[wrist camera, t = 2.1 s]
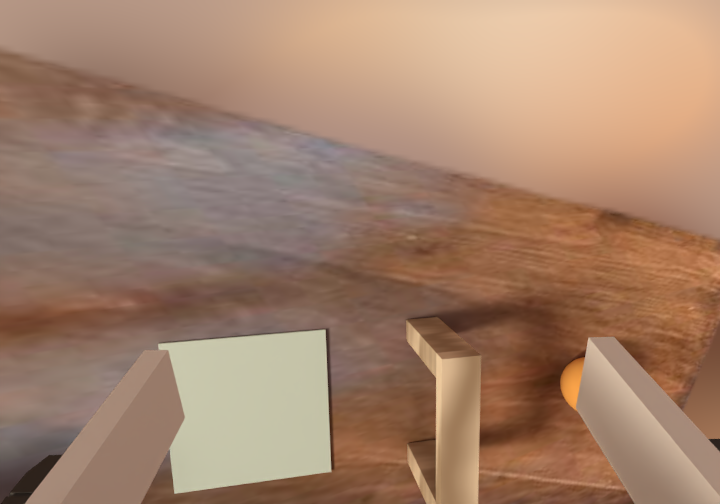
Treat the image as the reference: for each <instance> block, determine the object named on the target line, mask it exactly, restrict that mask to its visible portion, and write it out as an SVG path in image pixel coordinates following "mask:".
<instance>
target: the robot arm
mask: <svg viewBox="0 0 720 504" xmlns="http://www.w3.org/2000/svg"><path fill="white" fill-rule="evenodd" d="M576 409H577V411H578V412H579V414H580V416H581V417H582V419H583V421H584V422H585V424H586V425H587V427H588V429H589V430H590V432H591V434H592V435H593V437H594V438H595V440H596V442H597V443H598V445H599V447H600V448H601V450H602V451H603V453H604V455H605V456H606V458H607V460H608V461H609V463H610V464H611V466H612V468H613V469H614V471H615V472H616V474H617V476H618V477H619V479H620V481H621V482H622V484H623V485H624V487H625V489H626V490H627V492H628V494H629V495H630V497H631V498H632V500H633V502H634V503H635V504H720V439H708V438H706V436H705V435H704V434H703V433H702V432H701V431H700V430H699V429H698V428H697V427H696V426H695V424H694V423H693V422H692V421H691V420H690V419H689V418H688V417H687V416H686V415H685V414H684V412H683V411H682V410H681V409H680V408H679V407H678V406H677V405H676V404H675V403H674V402H673V400H672V399H671V398H670V397H669V396H668V395H667V394H666V393H665V392H664V391H663V390H662V389H661V387H660V386H659V385H658V384H657V383H656V382H655V381H654V380H653V379H652V378H651V377H650V376H649V374H648V373H647V372H646V371H645V370H644V369H643V368H642V367H641V366H640V365H639V364H638V362H637V361H636V360H635V359H634V358H633V357H632V356H631V355H630V354H629V353H628V352H627V351H626V349H625V348H624V347H623V346H622V345H621V344H620V343H619V342H618V341H617V340H616V339H615V338H614V337H592V338H589V339H588V344H587V349H586V355H585V360H584V366H583V371H582V377H581V382H580V387H579V393H578V398H577V404H576ZM184 419H185V415H184V411H183V407H182V403H181V399H180V395H179V391H178V387H177V383H176V379H175V375H174V371H173V367H172V363H171V359H170V355H169V351H168V350H146V351H144V352H143V353H142V354H141V355H140V357H139V358H138V359H137V361H136V362H135V363H134V364H133V366H132V367H131V368H130V369H129V371H128V372H127V373H126V375H125V376H124V377H123V378H122V380H121V381H120V382H119V384H118V385H117V386H116V387H115V389H114V390H113V391H112V393H111V394H110V395H109V396H108V398H107V399H106V400H105V401H104V403H103V404H102V405H101V407H100V408H99V409H98V410H97V412H96V413H95V414H94V416H93V417H92V418H91V419H90V421H89V422H88V423H87V425H86V426H85V427H84V428H83V430H82V431H81V432H80V434H79V435H78V436H77V437H76V439H75V440H74V441H73V442H72V444H71V445H70V446H69V448H68V449H67V450H66V451H65V453H64V454H63V455H49V456H48V457H46V458H45V459H44V460H42V461H41V462H40V463H39V464H37V465H36V466H35V467H33V468H32V469H31V470H30V471H28V472H27V473H26V474H25V475H24V477H23V478H22V479H21V480H20V481H19V483H18V484H17V485H16V486H15V487H14V489H13V490H12V491H11V492H10V496H9V497H6V498H5V499H4V500H3V502H2V503H1V504H141V502H142V501H143V499H144V497H145V495H146V493H147V491H148V489H149V487H150V485H151V483H152V481H153V479H154V477H155V475H156V473H157V471H158V469H159V467H160V466H161V464H162V462H163V460H164V458H165V456H166V454H167V452H168V450H169V448H170V446H171V444H172V442H173V440H174V438H175V436H176V434H177V432H178V431H179V429H180V427H181V425H182V423H183V421H184Z"/></svg>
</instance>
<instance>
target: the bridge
mask: <svg viewBox="0 0 720 504" xmlns="http://www.w3.org/2000/svg"><path fill="white" fill-rule="evenodd" d="M406 330H407V341H408V343H409V344H410V345H411V347H412V348H413V349H414V350H415V352H416V353H417V354H418V355H419V357H420V358H421V359H422V361H423V362H424V363H425V364H426V366H427V367H428V368H429V369H430V371H431V372H432V373H433V375H434V376H435V377H436V440H428V441H421V442H413V443H407V456H408V464H409V466H410V469H411V471H412V473H413V475H414V477H415V480H416V482H417V484H418V486H419V488H420V491H421V493H422V495H423V497H424V500H425V502H426V504H478V476H479V431H480V387H481V355H480V354H479V353H478V352H477V351H476V350H474V349H473V348H472V347H471V346H470V345H469V344H468V343H466V342H465V341H464V340H463V339H462V338H461V337H460V336H459V335H457V334H456V333H455V332H454V331H453V330H452V329H451V328H449V327H448V326H447V325H446V324H445V323H444V322H443V321H442V320H440V319H439V318H438V317H431V318H419V319H407V320H406Z"/></svg>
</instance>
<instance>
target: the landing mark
mask: <svg viewBox="0 0 720 504" xmlns="http://www.w3.org/2000/svg"><path fill="white" fill-rule="evenodd" d="M158 346H159V350H168V351H169V355H170V359H171V363H172V367H173V371H174V375H175V379H176V383H177V387H178V391H179V395H180V399H181V403H182V407H183V411H184V415H185V419H184V421H183V423H182V425H181V427H180V429H179V431H178V432H177V434H176V436H175V438H174V440H173V442H172V444H171V446H170V456H171V466H172V475H173V484H174V493H175V494H176V493H183V492H190V491H197V490H204V489H211V488H218V487H226V486H233V485H240V484H247V483H254V482H261V481H268V480H275V479H283V478H290V477H297V476H304V475H311V474H318V473H325V472H331V452H330V427H329V403H328V378H327V353H326V330H325V329H320V330H308V331H296V332H285V333H273V334H261V335H249V336H237V337H226V338H214V339H202V340H190V341H178V342H167V343H159V344H158Z"/></svg>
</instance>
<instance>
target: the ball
mask: <svg viewBox="0 0 720 504" xmlns="http://www.w3.org/2000/svg"><path fill="white" fill-rule="evenodd" d="M584 360H585V357H582V358H578V359H576V360H574V361H572V362H571V363H569V364H568V365H567V366H566V367H565V369H564V371H563V372H562V375H561V380H560V386H561V391H562V394H563V396H564V398H565V400H566V401H567V403H568V404H569V405H570V406H571V407H572V408H573V409H575V410H576V411H577V409H576V404H577V398H578V393H579V387H580V382H581V377H582V371H583V366H584Z"/></svg>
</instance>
